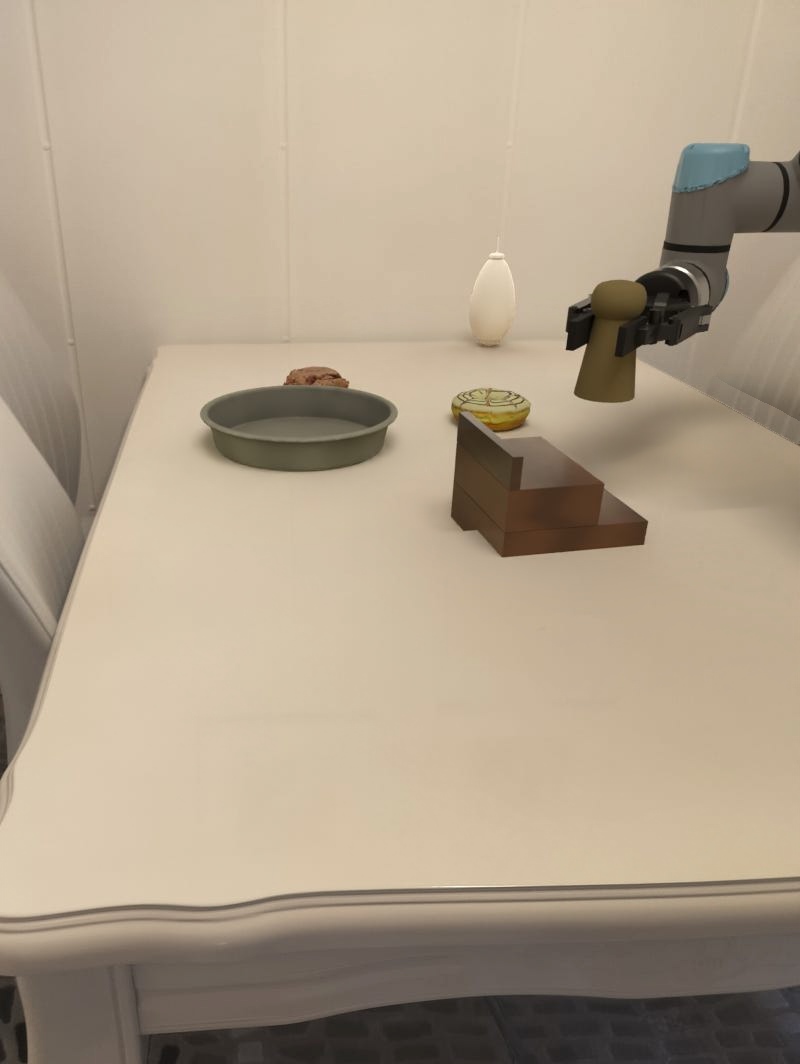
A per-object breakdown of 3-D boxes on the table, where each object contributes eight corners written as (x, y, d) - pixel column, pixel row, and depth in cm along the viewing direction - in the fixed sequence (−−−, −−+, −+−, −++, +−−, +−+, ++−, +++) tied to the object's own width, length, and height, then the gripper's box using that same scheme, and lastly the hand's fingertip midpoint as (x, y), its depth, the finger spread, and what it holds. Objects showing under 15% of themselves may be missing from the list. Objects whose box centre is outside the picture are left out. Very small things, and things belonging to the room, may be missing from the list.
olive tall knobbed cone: (564, 396, 93) (579, 282, 88) (586, 384, 98) (602, 274, 92) (622, 406, 90) (642, 288, 85) (642, 392, 95) (662, 279, 89)
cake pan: (407, 421, 125) (409, 388, 122) (380, 483, 104) (382, 444, 102) (234, 410, 129) (232, 378, 127) (174, 468, 108) (171, 430, 106)
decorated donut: (530, 413, 128) (533, 386, 126) (526, 436, 119) (530, 407, 117) (455, 408, 130) (457, 381, 128) (446, 430, 121) (448, 401, 119)
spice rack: (575, 506, 98) (590, 404, 92) (641, 560, 86) (663, 447, 81) (450, 516, 95) (458, 411, 90) (500, 573, 84) (513, 457, 78)
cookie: (334, 379, 145) (334, 359, 143) (357, 396, 136) (357, 375, 134) (273, 383, 142) (273, 364, 140) (293, 401, 133) (292, 380, 132)
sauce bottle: (458, 344, 166) (466, 236, 157) (485, 338, 171) (494, 233, 162) (492, 352, 161) (502, 241, 152) (519, 345, 166) (531, 237, 157)
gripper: (737, 345, 101) (680, 392, 85) (586, 328, 110) (507, 367, 93) (753, 273, 98) (696, 306, 81) (596, 260, 106) (515, 288, 89)
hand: (595, 339), depth 87 cm, fingers closed on olive tall knobbed cone, 4 cm apart
